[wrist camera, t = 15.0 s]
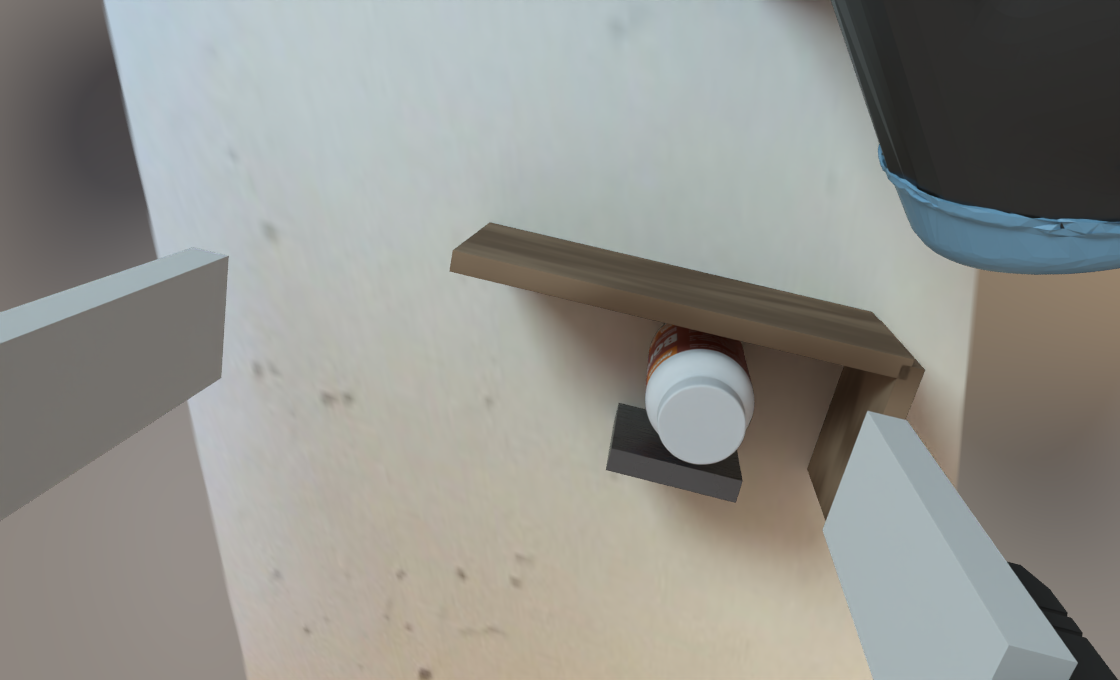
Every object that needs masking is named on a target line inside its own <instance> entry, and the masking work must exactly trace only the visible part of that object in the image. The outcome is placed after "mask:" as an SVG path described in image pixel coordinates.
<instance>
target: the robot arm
mask: <svg viewBox="0 0 1120 680" xmlns="http://www.w3.org/2000/svg"><path fill="white" fill-rule="evenodd" d="M831 2H832V5H833V8H834V11H835V14H836V17H837V20H838V23H839V26H840V28H841V31H842V34H843V37H844V40H845V43H846V46H847V49H848V52H849V55H850V58H851V61H852V64H853V67H854V70H855V73H856V76H857V79H858V82H859V85H860V88H861V91H862V93H863V96H864V99H865V102H866V105H867V108H868V111H869V114H870V117H871V120H872V123H873V126H874V129H875V132H876V135H877V138H878V141H879V147H878V157H879V161H880V164H881V167H882V169H883V171H885V172H886V174H887V177H888V179H889V180H890V181H891V182H892V183H893V184H894V185H895V188H896V190H897V193H898V195H899V198H900V200H901V203H902V205H903V208H904V210H905V213H906V215H907V218H908V220H909V223H910V225H911V227H912V229H913V231H914V232H915V233H916V234H917V235H918V237H919V238H920V239H921V240H922V241H923V242H924V244H925V245H927V246H928V247H929V248H931V249H932V250H933V251H934V252H936V253H937V254H939V255H941V256H943V257H945V258H947V259H949V260H951V261H954V262H956V263H959V264H962V265H966V266H969V267H973V268H977V269H982V270H988V271H995V272H1004V273H1016V274H1034V275H1038V274H1073V273H1086V272H1095V271H1104V270H1110V269H1117V268H1120V0H831ZM228 257H229V256H227V255H223V254H219V253H215V252H211V251H206V250H202V249H198V248H194V247H193V248H190V249H187V250H184V251H181V252H178V253H175V254H172V255H169V256H166V257H163V258H160V259H157V260H154V261H151V262H148V263H146V264H143V265H139V266H137V267H134V268H131V269H128V270H125V271H122V272H119V273H116V274H113V275H110V276H107V277H104V278H101V279H98V280H95V281H92V282H89V283H86V284H83V285H80V286H77V287H74V288H71V289H69V290H65V291H63V292H60V293H57V294H53V295H51V296H48V297H45V298H42V299H39V300H36V301H33V302H30V303H27V304H24V305H21V306H18V307H15V308H12V309H9V310H6V311H3V312H0V521H1V520H3V519H4V518H6V517H7V516H9V515H10V514H12V513H13V512H15V511H16V510H18V509H19V508H21V507H23V506H24V505H26V504H27V503H29V502H30V501H32V500H33V499H35V498H37V497H38V496H39V495H41V494H43V493H44V492H46V491H47V490H49V489H50V488H52V487H53V486H55V485H57V484H58V483H60V482H61V481H63V480H64V479H66V478H67V477H69V476H70V475H72V474H74V473H75V472H77V471H78V470H79V469H81V468H83V467H84V466H86V465H87V464H89V463H90V462H92V461H94V460H95V459H97V458H98V457H100V456H101V455H103V454H104V453H106V452H107V451H109V450H111V449H112V448H114V447H115V446H117V445H118V444H120V443H121V442H123V441H124V440H126V439H127V438H129V437H131V436H132V435H134V434H135V433H137V432H138V431H140V430H141V429H143V428H145V427H146V426H148V425H149V424H151V423H152V422H154V421H155V420H157V419H158V418H160V417H161V416H163V415H165V414H166V413H168V412H169V411H171V410H172V409H174V408H175V407H177V406H178V405H180V404H182V403H183V402H185V401H186V400H188V399H189V398H191V397H192V396H194V395H195V394H197V393H199V392H200V391H202V390H203V389H205V388H206V387H208V386H209V385H211V384H212V383H214V382H216V381H217V380H219V379H220V378H221V372H222V356H223V339H224V323H225V306H226V290H227V274H228ZM823 533H824V536H825V539H826V542H827V545H828V548H829V551H830V554H831V557H832V560H833V562H834V565H835V568H836V571H837V574H838V577H839V580H840V583H841V586H842V589H843V592H844V595H845V598H846V601H847V604H848V607H849V609H850V612H851V615H852V618H853V621H854V624H855V627H856V630H857V633H858V636H859V639H860V642H861V645H862V648H863V651H864V654H865V656H866V659H867V662H868V665H869V668H870V671H871V674H872V677H873V680H1118V679H1117V678H1116V677H1115V675H1114V674H1113V673H1112V671H1111V670H1110V669H1109V667H1108V666H1107V665H1106V663H1105V662H1104V661H1103V659H1102V658H1101V657H1100V655H1099V654H1098V653H1097V651H1096V650H1095V649H1094V647H1093V646H1092V645H1091V643H1090V642H1089V641H1088V639H1087V638H1084V637H1082V632H1081V630H1080V629H1079V627H1078V626H1077V625H1076V623H1075V622H1074V621H1073V619H1072V618H1070V617H1067V612H1066V610H1065V609H1064V607H1063V606H1062V605H1061V604H1060V602H1059V601H1058V600H1057V598H1056V597H1055V596H1054V594H1053V593H1052V592H1051V590H1050V589H1049V588H1048V587H1046V586H1045V585H1044V584H1043V583H1042V582H1040V581H1039V580H1038V579H1037V578H1036V577H1034V576H1033V575H1032V574H1031V573H1030V572H1028V571H1027V570H1026V569H1025V568H1023V567H1022V566H1021V565H1018V564H1014V563H1010V562H1006V560H1005V559H1004V557H1003V556H1002V555H1001V553H1000V552H999V550H998V549H997V547H996V546H995V545H994V543H993V542H992V540H991V539H990V538H989V536H988V535H987V534H986V532H985V530H984V529H983V528H982V526H981V525H980V523H979V522H978V521H977V519H976V518H975V516H974V515H973V514H972V512H971V511H970V509H969V508H968V506H967V505H966V504H965V502H964V501H963V499H962V498H961V496H960V495H959V494H958V492H957V491H956V489H955V488H954V486H953V485H952V484H951V482H950V481H949V479H948V478H947V476H946V475H945V474H944V472H943V471H942V469H941V468H940V467H939V465H938V464H937V462H936V461H935V459H934V458H933V457H932V455H931V454H930V452H929V451H928V450H927V448H926V447H925V445H924V444H923V442H922V441H921V440H920V438H919V437H918V435H917V434H916V433H915V431H914V430H913V428H912V427H911V425H910V424H909V423H908V421H907V420H904V419H899V418H895V417H891V416H887V415H883V414H879V413H875V412H871V411H867V413H866V416H865V419H864V421H863V424H862V426H861V429H860V432H859V434H858V437H857V440H856V442H855V445H854V448H853V450H852V453H851V456H850V458H849V461H848V464H847V466H846V469H845V472H844V474H843V477H842V480H841V482H840V485H839V488H838V490H837V493H836V496H835V498H834V501H833V503H832V506H831V509H830V511H829V514H828V517H827V519H826V522H825V525H824V527H823Z"/></svg>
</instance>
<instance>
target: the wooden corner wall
mask: <svg viewBox="0 0 1120 680" xmlns="http://www.w3.org/2000/svg"><path fill="white" fill-rule="evenodd" d="M450 272H454V273H459V274H463V275H467V276H471V277H475V278H479V279H484V280H488V281H492V282H496V283H500V284H505V285H509V286H513V287H517V288H521V289H525V290H530V291H534V292H538V293H542V294H546V295H551V296H555V297H559V298H563V299H567V300H571V301H576V302H580V303H584V304H588V305H592V306H597V307H601V308H605V309H609V310H613V311H617V312H622V313H626V314H630V315H634V316H638V317H642V318H647V319H651V320H655V321H659V322H663V323H668V324H672V325H676V326H680V327H684V328H688V329H693V330H697V331H701V332H705V333H709V334H714V335H718V336H722V337H726V338H730V339H734V340H739V341H743V342H747V343H751V344H755V345H760V346H764V347H768V348H772V349H776V350H780V351H785V352H789V353H793V354H797V355H801V356H806V357H810V358H814V359H818V360H822V361H826V362H831V363H835V364H839V365H843V366H844V368H843V371H842V373H841V376H840V379H839V382H838V385H837V387H836V390H835V393H834V396H833V399H832V401H831V404H830V407H829V410H828V413H827V415H826V418H825V421H824V424H823V427H822V429H821V432H820V435H819V438H818V441H817V443H816V446H815V449H814V452H813V455H812V457H811V460H810V463H809V466H808V469H807V470H808V472H809V475H810V478H811V481H812V484H813V487H814V489H815V492H816V495H817V498H818V501H819V503H820V506H821V509H822V512H823V515H824V518H825V520H826V519H827V517H828V514H829V511H830V509H831V506H832V503H833V501H834V498H835V496H836V493H837V490H838V488H839V485H840V482H841V480H842V477H843V474H844V472H845V469H846V466H847V464H848V461H849V458H850V456H851V453H852V450H853V448H854V445H855V442H856V440H857V437H858V434H859V432H860V429H861V426H862V424H863V421H864V419H865V416H866V413H867V411H871V412H875V413H879V414H883V415H887V416H891V417H895V418H899V419H904V420H905V419H906V417H907V414H908V412H909V409H910V407H911V404H912V402H913V399H914V397H915V394H916V392H917V389H918V387H919V384H920V382H921V379H922V377H923V374H924V372H925V369H924V368H923V367H922V366H921V365H920V364H919V363H918V361H917V360H916V359H915V358H914V357H913V356H912V355H911V354H910V352H909V351H908V350H907V349H906V348H905V347H904V346H903V345H902V344H901V342H900V341H899V340H898V339H897V338H896V337H895V336H894V335H893V333H892V332H891V331H890V330H889V329H888V328H887V327H886V326H885V325H884V323H883V322H882V321H881V320H879V319H878V318H877V317H876V316H875V315H874V314H873V313H872V312H870V311H866V310H861V309H857V308H853V307H849V306H844V305H840V304H836V303H831V302H827V301H823V300H819V299H814V298H810V297H806V296H802V295H797V294H793V293H789V292H784V291H780V290H776V289H772V288H767V287H763V286H759V285H755V284H750V283H746V282H742V281H738V280H733V279H729V278H725V277H720V276H716V275H712V274H708V273H703V272H699V271H695V270H691V269H686V268H682V267H678V266H673V265H669V264H665V263H661V262H656V261H652V260H648V259H644V258H639V257H635V256H631V255H627V254H622V253H618V252H614V251H609V250H605V249H601V248H597V247H592V246H588V245H584V244H580V243H575V242H571V241H567V240H562V239H558V238H554V237H550V236H545V235H541V234H537V233H533V232H528V231H524V230H520V229H516V228H511V227H507V226H503V225H498V224H494V223H489V224H487V225H486V226H485V227H483V228H482V229H481V230H479V231H478V232H477V233H475V234H474V235H473V236H471V237H470V238H469V239H467V240H466V241H465V242H463V243H462V244H461V245H459V246H458V247H457V248H455V249H454V250H453V253H452V259H451V265H450Z"/></svg>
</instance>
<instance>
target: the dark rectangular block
mask: <svg viewBox="0 0 1120 680" xmlns="http://www.w3.org/2000/svg"><path fill="white" fill-rule="evenodd" d="M606 470H608V471H612V472H616V473H620V474H624V475H628V476H632V477H636V478H640V479H644V480H648V481H652V482H656V483H660V484H664V485H668V486H672V487H676V488H680V489H684V490H687V491H691V492H695V493H699V494H703V495H707V496H711V497H715V498H719V499H723V500H727V501H731V502H735V503H736V500H737V497H738V494H739V490H740V487H741V484H742V475H741V470H740V464H739V459H738V453H737V450H736V451H735V452H734V453H732V454H731V455H730V456H729V457H727V458H726V459H723V460H721V461H719V462H716V463H712V464H692V463H688V462H685V461H683V460H681V459H679V458H677V457H675V456H674V455H673V454H671V453H670V452H669V451H668V450H667V449H666V447H665V446H664V445H663V443H662V441H661V439H660V436H659V434H658V433H657V432H656V431H655V429H654V428H653V426H652V425H651V423H650V420H649V418H648V415H647V411H646V410H645V409H641V408H637V407H633V406H629V405H625V404H621V403H619V405H618V409H617V413H616V416H615V420H614V425H613V431H612V437H611V443H610V449H609V454H608V460H607V466H606Z"/></svg>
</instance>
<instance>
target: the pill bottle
mask: <svg viewBox="0 0 1120 680" xmlns="http://www.w3.org/2000/svg"><path fill="white" fill-rule="evenodd" d="M645 404H646V411H647V415H648V418H649V420H650V423H651V425H652V426H653V428H654V429H655V431H656V432H657V433H658V434H659V436H660V439H661V441H662V443H663V445H664V446H665V447H666V449H667V450H668V451H669V452H670V453H671V454H673V455H674V456H675V457H677V458H679V459H681V460H683V461H685V462H688V463H692V464H712V463H716V462H719V461H721V460H723V459H726V458H727V457H729V456H730V455H731V454H732V453H734V452H735V451H736V450H737V448H738V447H739V446H740V444H741V442H742V441H743V438H744V436H745V431H746V428H747V427H748V425H749V423H750V421H751V418H752V415H753V411H754V393H753V387H752V383H751V379H750V375H749V372H748V368H747V364H746V360H745V355H744V351H743V347H742V344H741V342H740V341H739V340H734V339H730V338H726V337H722V336H718V335H714V334H709V333H705V332H701V331H697V330H693V329H688V328H684V327H680V326H676V325H672V324H668V323H666V324H665V325H663V326H662V327H661V328H660V329H659V331H658V332H657V333H656V335H655V337H654V338H653V340H652V343H651V346H650V350H649V356H648V367H647V378H646V391H645Z"/></svg>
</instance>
